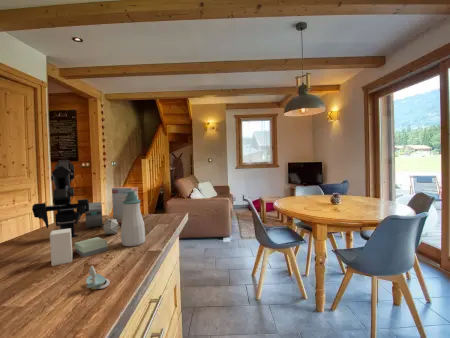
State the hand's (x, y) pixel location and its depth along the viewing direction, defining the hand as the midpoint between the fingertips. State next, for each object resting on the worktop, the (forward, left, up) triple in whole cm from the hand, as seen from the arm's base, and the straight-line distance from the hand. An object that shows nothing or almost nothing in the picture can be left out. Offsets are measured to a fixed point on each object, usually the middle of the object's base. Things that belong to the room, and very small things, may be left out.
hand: (62, 225), depth 95 cm
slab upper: (+5, +8, -10) cm, 14 cm away
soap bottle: (+13, +22, -12) cm, 28 cm away
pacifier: (+34, -7, -12) cm, 37 cm away
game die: (-8, +26, -12) cm, 30 cm away
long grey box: (-35, +34, -12) cm, 51 cm away
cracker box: (-20, +44, -12) cm, 50 cm away
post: (+5, -3, -12) cm, 13 cm away
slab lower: (+5, +8, -12) cm, 16 cm away
